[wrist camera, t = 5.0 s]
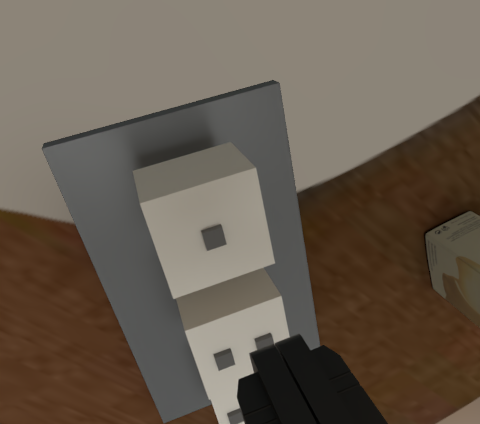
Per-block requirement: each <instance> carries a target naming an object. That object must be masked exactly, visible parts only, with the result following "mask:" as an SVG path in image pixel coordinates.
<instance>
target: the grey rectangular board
mask: <svg viewBox="0 0 480 424" xmlns="http://www.w3.org/2000/svg"><path fill="white" fill-rule="evenodd" d="M228 142H231V143H232V144H233V145H234V146H235V147H236V148H237V149H238V150H239V151H240V152H241V153H242V154H243V155H244V156H245V157H246V158H247V159H248V160H249V161H250V162H251V163H252V164H253V165H254V166H255V167H256V170H257V175H258V180H259V185H260V190H261V195H262V200H263V205H264V210H265V215H266V220H267V225H268V230H269V235H270V240H271V245H272V250H273V255H274V260H275V264H272V265H269V266H266V267H263V268H264V269H265V271H266V272H267V274H268V275H269V277H270V279H271V280H272V282H273V283H274V285H275V286H276V288H277V290H278V291H279V293H280V294H281V296H282V301H283V306H284V311H285V316H286V321H287V326H288V331H289V336H290V337H291V336H294V335H296V334H300V335H301V336H302V337H303V339H304V341H305V342H306V344H307V345H308V347H309V348H310V350H313V349H315V348H318V347H320V342H319V336H318V329H317V323H316V316H315V310H314V303H313V297H312V290H311V284H310V277H309V271H308V264H307V258H306V251H305V245H304V239H303V232H302V226H301V219H300V213H299V206H298V200H297V193H296V187H295V180H294V174H293V167H292V161H291V155H290V148H289V141H288V135H287V128H286V122H285V116H284V109H283V103H282V96H281V90H280V83H279V82H276V81H274V80H272V81H269V82H264V83H261V84H257V85H254V86H250V87H247V88H243V89H239V90H236V91H232V92H228V93H225V94H221V95H218V96H214V97H210V98H207V99H203V100H199V101H196V102H192V103H189V104H185V105H181V106H178V107H174V108H170V109H167V110H163V111H160V112H156V113H152V114H149V115H145V116H142V117H138V118H134V119H131V120H127V121H124V122H120V123H116V124H113V125H109V126H105V127H102V128H98V129H94V130H91V131H87V132H84V133H80V134H77V135H73V136H69V137H65V138H62V139H59V140H55V141H51V142H47V143H44V144H43V147H42V150H43V152H44V155H45V157H46V159H47V162H48V164H49V166H50V168H51V171H52V173H53V175H54V177H55V180H56V182H57V184H58V186H59V189H60V191H61V193H62V195H63V198H64V200H65V202H66V204H67V206H68V209H69V211H70V213H71V216H72V218H73V220H74V222H75V225H76V227H77V229H78V231H79V234H80V236H81V238H82V240H83V243H84V245H85V247H86V249H87V252H88V254H89V256H90V258H91V261H92V263H93V265H94V267H95V270H96V272H97V274H98V276H99V279H100V281H101V283H102V285H103V288H104V290H105V292H106V294H107V297H108V299H109V301H110V303H111V306H112V308H113V310H114V312H115V315H116V317H117V319H118V321H119V324H120V326H121V328H122V330H123V333H124V335H125V337H126V339H127V342H128V344H129V346H130V348H131V351H132V353H133V355H134V357H135V360H136V362H137V364H138V366H139V369H140V371H141V373H142V375H143V378H144V380H145V382H146V384H147V387H148V389H149V391H150V393H151V396H152V398H153V400H154V402H155V405H156V407H157V409H158V411H159V414H160V416H161V418H162V420H163V423H166V422H168V421H171V420H173V419H176V418H178V417H181V416H183V415H186V414H188V413H191V412H194V411H196V410H199V409H201V408H204V407H206V406H209V405H211V404H212V402H211V399H210V400H209V399H208V396H207V393H206V390H205V387H204V384H203V382H202V379H201V376H200V373H199V370H198V367H197V364H196V362H195V359H194V356H193V353H192V350H191V347H190V345H189V342H188V339H187V336H186V333H185V330H184V327H183V323H182V319H181V315H180V312H179V308H178V304H177V301H176V298H175V299H173V296H172V294H171V291H170V288H169V285H168V282H167V279H166V277H165V274H164V271H163V268H162V265H161V262H160V260H159V257H158V254H157V251H156V248H155V245H154V243H153V240H152V237H151V234H150V231H149V228H148V226H147V223H146V220H145V217H144V214H143V211H142V209H141V206H140V202H139V198H138V193H137V189H136V184H135V179H134V175H133V171H134V170H137V169H141V168H144V167H148V166H151V165H154V164H158V163H161V162H164V161H168V160H171V159H174V158H178V157H181V156H185V155H188V154H191V153H195V152H198V151H201V150H205V149H208V148H212V147H215V146H218V145H222V144H225V143H228Z"/></svg>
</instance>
